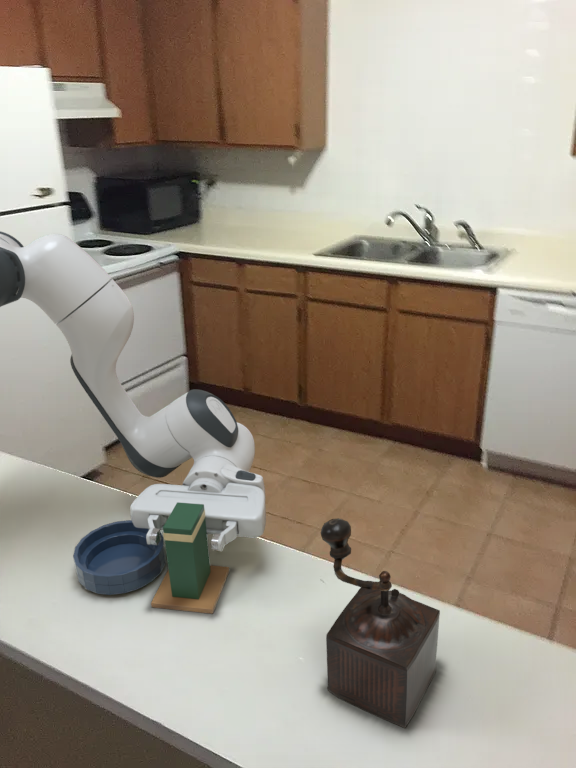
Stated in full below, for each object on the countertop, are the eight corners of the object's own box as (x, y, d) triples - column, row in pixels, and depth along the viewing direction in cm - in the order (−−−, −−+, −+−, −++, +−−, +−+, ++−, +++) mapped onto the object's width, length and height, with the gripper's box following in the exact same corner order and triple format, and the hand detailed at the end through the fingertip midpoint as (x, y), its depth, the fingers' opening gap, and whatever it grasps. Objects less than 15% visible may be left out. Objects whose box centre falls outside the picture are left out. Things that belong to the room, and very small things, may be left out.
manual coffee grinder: (440, 663, 83) (450, 546, 76) (406, 731, 75) (413, 607, 67) (331, 618, 91) (330, 508, 84) (288, 675, 83) (283, 558, 75)
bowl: (62, 593, 97) (57, 571, 96) (100, 537, 109) (97, 517, 108) (147, 602, 95) (144, 580, 93) (177, 544, 107) (175, 523, 105)
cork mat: (151, 607, 94) (150, 602, 94) (172, 565, 102) (172, 561, 102) (212, 613, 93) (212, 609, 92) (229, 571, 101) (229, 566, 100)
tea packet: (171, 597, 95) (162, 527, 90) (184, 568, 100) (176, 501, 95) (199, 600, 94) (191, 530, 89) (211, 571, 99) (204, 503, 95)
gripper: (146, 467, 106) (110, 519, 93) (272, 476, 102) (252, 531, 90) (151, 501, 108) (116, 555, 96) (274, 510, 105) (255, 568, 92)
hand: (183, 544), depth 93 cm, fingers open, 8 cm apart
